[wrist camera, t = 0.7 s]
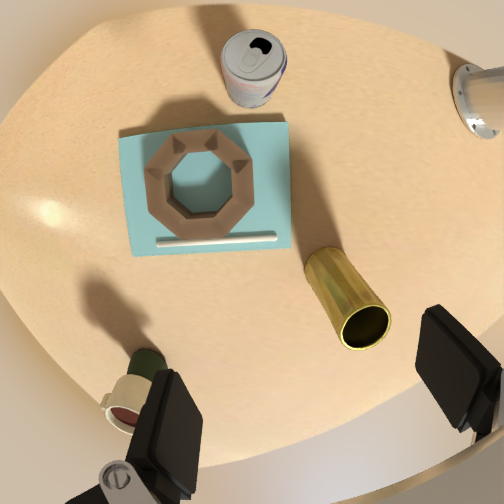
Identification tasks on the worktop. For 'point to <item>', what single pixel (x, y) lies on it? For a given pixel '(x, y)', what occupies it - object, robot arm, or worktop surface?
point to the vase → (347, 299)
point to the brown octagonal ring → (175, 212)
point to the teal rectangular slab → (212, 190)
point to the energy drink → (252, 67)
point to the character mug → (132, 391)
